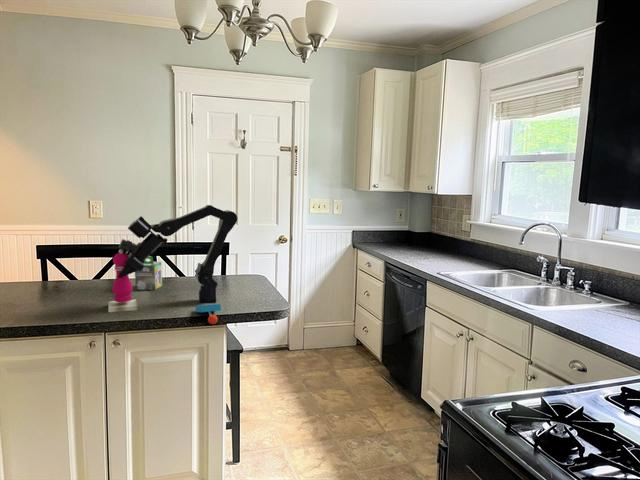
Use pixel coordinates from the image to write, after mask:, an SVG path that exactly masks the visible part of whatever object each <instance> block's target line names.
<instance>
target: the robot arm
mask: <svg viewBox="0 0 640 480" xmlns="http://www.w3.org/2000/svg"><path fill="white" fill-rule="evenodd" d="M237 215H238V214H236V212H234V211H231V210H229V209H227V210H222V209H220V208H217V207H215V206H214V205H211V204H206V205H205V206H203V207H201V208H199V209H196V210H194V211H191V212H189V213H186V214H184V215H182V216H179V217H174V218H168V219H165V220H162V221H160V222H159V223H156V224H150V223H149V222H148V221H146V220H145V217H143V216H142V215H141V216H139V217H137V219H135V220H134V221H132V223H130V224H129V226H128V227H127V229H128V230H129V231H130V232H131V233H132V234H134V235H135V236H136V237H137V238H138V239H140V238H142V239H143V240H142V241H141V242H138V243H137V244H136V243H134V242H132V241H130V240H128V239H127V240H126V239H124V238H122V239H121V242H120V243H119V246H118V248H119V250H120V249H122V250H123V251H125V254H127V255H128V256H129V257H128V258H127V259H126V265H125V266H124V268H123V269H122V271H121V272H120V273H119V275H118V277H119V278H121V277H124V276H126V275H128V276H129V275H131V274H133V273H135V272H136V271H138V270H139V271H141V270H142V269H143V268H144V264H143V263H144V262H145V260H146V261H147V258H148V256H150V257H152V255H153V253H154V252H155V251H156V250H157V248H159V247H160V245H162V244H163V245H164V246H168V238H166V237H170V236H173V234H176V233H177V232H178V231H180V230H181V229H182V228H184V227H186V226H188V225H190V224H193V223H195V222H197V221H200V220H202V219H205V218H207V217H209V216H212V217H214V218H216V219H219V220H218V228H217V232H216V234H215V236H214V238H213V240H212V243H211V246H210V248H209V250H208V252H207V253H206V254H207V255H206V257H205V259H204V261H203V262H202V263H200V262H198V264H197V267H196V269H195V270H194V273H195V274H194V276H195V279H196V281H198V282H199V284H200V289H199V290H198V301H199V303H200V304H207V303H211V304H212V303H214V304H215V303H217V286H218V282H217V281H216V280H215V279H214V278H213V276H214V271H215V264H216V262H217V259H218V257H219V255H220V252H221V250H222V248H223V246H224V243H225V240H226V238H227V236H228V234H229V233H230V232H231V231H232V230H233V228H234V226H235V225H236V223H237V222H238V216H237ZM156 233H157V234H156ZM164 237H165V238H164Z"/></svg>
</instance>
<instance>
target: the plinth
mask: <svg viewBox="0 0 640 480" xmlns="http://www.w3.org/2000/svg"><path fill="white" fill-rule="evenodd" d="M107 305H108V309H107V310H108V313H118V312H128V311H129V312H130V311H138V303H137V299H131V300H130V301H127V302H116V301H114V300H110V301H108V304H107Z"/></svg>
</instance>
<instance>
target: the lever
mask: <svg viewBox="0 0 640 480" xmlns="http://www.w3.org/2000/svg"><path fill="white" fill-rule="evenodd" d="M219 311H222V306H221V303H216V304H215V303H214V304H205V305H195V312H196V313H207V312H208V315H209V316H208V318H207V322H208V324H210V325H215V324H217V323H218V318H219V317H217V315H216V314H212V312H219Z"/></svg>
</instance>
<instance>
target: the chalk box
mask: <svg viewBox="0 0 640 480" xmlns="http://www.w3.org/2000/svg"><path fill="white" fill-rule="evenodd" d="M147 259H148V260H150V261H147ZM147 259H146V260H145V262H144V263H143V264H144V268H143V269H142V270H141V271H139V270H138V271H136V272H134V279H135V290H136V291H138V290H139V291H143V290H144V291H156V290H158V289H159V288H161V287H163V275H162V274H163V273H162V272H163V269H162V261H154V257H153V256H150V255H149V256H148V258H147Z"/></svg>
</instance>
